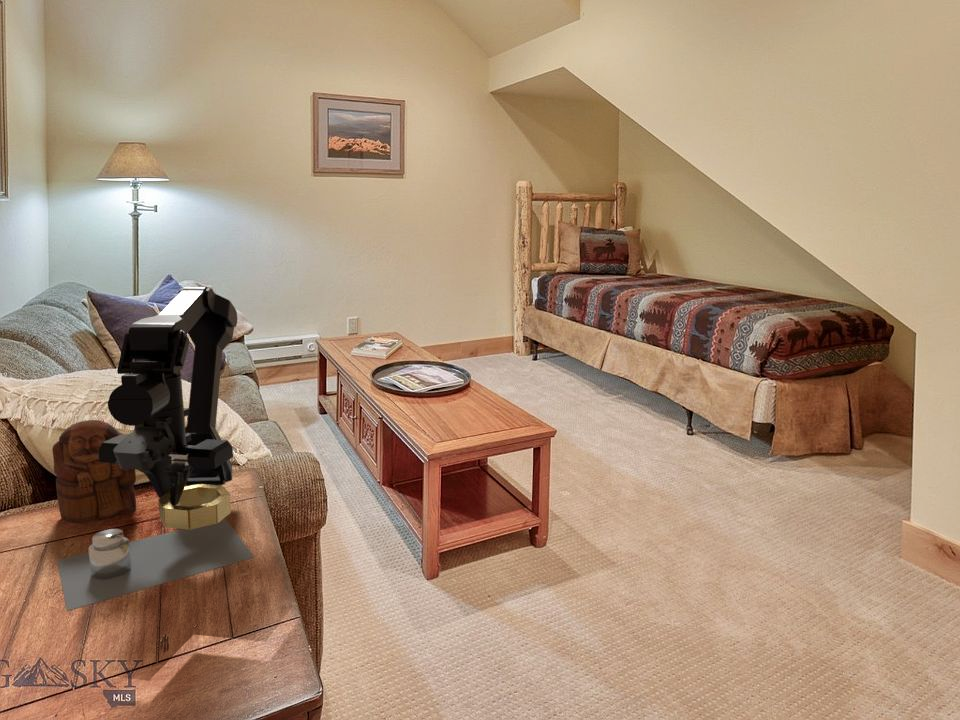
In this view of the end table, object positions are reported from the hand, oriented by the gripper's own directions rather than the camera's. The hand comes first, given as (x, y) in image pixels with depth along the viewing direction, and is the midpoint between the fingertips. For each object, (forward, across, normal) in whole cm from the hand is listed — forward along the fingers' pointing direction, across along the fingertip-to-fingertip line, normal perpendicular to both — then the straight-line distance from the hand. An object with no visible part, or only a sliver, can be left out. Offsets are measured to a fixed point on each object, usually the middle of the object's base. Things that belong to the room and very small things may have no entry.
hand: (170, 504), depth 98 cm
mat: (+8, 0, -4) cm, 9 cm away
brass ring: (+1, +4, 0) cm, 4 cm away
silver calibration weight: (+7, -4, -8) cm, 12 cm away
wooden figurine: (+9, -20, +9) cm, 23 cm away
